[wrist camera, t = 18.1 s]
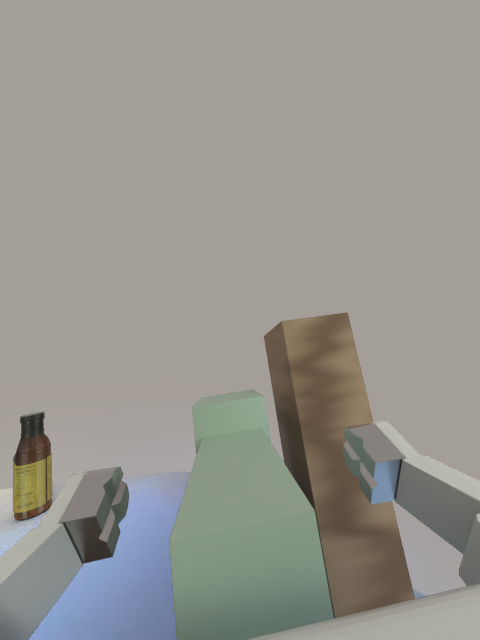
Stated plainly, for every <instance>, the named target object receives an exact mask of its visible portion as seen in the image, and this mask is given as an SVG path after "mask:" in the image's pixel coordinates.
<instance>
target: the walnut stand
mask: <svg viewBox="0 0 480 640" xmlns="http://www.w3.org/2000/svg"><path fill="white" fill-rule="evenodd" d="M264 340H265V346H266V352H267V358H268V364H269V371H270V376H271V383H272V389H273V395H274V401H275V407H276V413H277V420H278V426H279V432H280V438H281V444H282V450H283V456H284V463H285V465H286V467H287V468H288V470H289V472H290V473H291V475H292V476H293V478H294V479H295V481H296V482H297V484H298V485H299V487H300V489H301V490H302V492H303V493H304V495H305V496H306V498H307V499H308V501H309V503H310V504H311V506H312V507H313V509H314V510H315V515H316V521H317V526H318V532H319V538H320V543H321V549H322V554H323V560H324V566H325V571H326V577H327V582H328V588H329V593H330V599H331V605H332V610H333V616H334V618H338V617H343V616H347V615H351V614H355V613H359V612H363V611H367V610H372V609H376V608H380V607H384V606H388V605H392V604H396V603H401V602H405V601H409V600H413V599H415V597H414V593H413V589H412V584H411V580H410V576H409V572H408V568H407V563H406V559H405V555H404V550H403V546H402V542H401V538H400V533H399V529H398V525H397V521H396V516H395V512H394V508H393V504H392V501H389V502H383V503H377V504H370V502H369V501H368V499H367V497H366V496H365V494H364V493H363V491H362V489H361V488H360V486H359V478H358V477H357V476H355V475H354V474H352V473H351V471H350V470H349V468H348V466H347V464H346V462H345V459H344V454H343V445H344V443H345V442H346V441H347V440H346V438H345V437H344V430H345V428H346V427H350V426H356V425H361V424H367V423H372V422H373V419H372V414H371V410H370V406H369V401H368V397H367V393H366V389H365V385H364V380H363V376H362V372H361V367H360V363H359V359H358V355H357V350H356V346H355V342H354V338H353V333H352V329H351V325H350V321H349V316H348V313H341V314H334V315H325V316H318V317H310V318H302V319H294V320H287V321H281V322H280V323H279V324H278V325H277V326H275V327H274V328H273V329H272V330H271V331H270V332H269V333H267V334H266V335H265V336H264Z"/></svg>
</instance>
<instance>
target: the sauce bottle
mask: <svg viewBox="0 0 480 640" xmlns="http://www.w3.org/2000/svg"><path fill="white" fill-rule="evenodd" d="M44 417H45V416H44V412H37V413H32V414H27V415H23V416H21V417H20V423H21V431H22V432H21V439H20V442H19V445H18V448H17V451H16V454H15V456H14V458H13V512H14V517H15V519H17V520H23V519H28V518H32V517H34V516H36V515H38V514H40V513H42V512H44V511H46V510H47V509H48V508H49V507H50V506H51V503H52V499H51V497H52V461H51V448H50V447H51V444H50V441H49V439H48V437H47V436H46V435H45V434H44V427H43V425H44V424H43V419H44Z"/></svg>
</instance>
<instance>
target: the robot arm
mask: <svg viewBox="0 0 480 640" xmlns="http://www.w3.org/2000/svg"><path fill="white" fill-rule="evenodd" d="M344 437H345V438H346V440H347V441H346V442H345V443H344V445H343V454H344V459H345V462H346V464H347V466H348V468H349V470H350V471H351V473H352V474H354V475H355V476H357V477H358V478H359V486H360V488H361V489H362V491H363V493H364V494H365V496H366V497H367V499H368V501H369V502H370V504H377V503H383V502H389V501H394V500H396V501H395V502H396V503H398V504H399V505H400V506H401V507H403V508H404V509H405V510H407V511H408V512H409V513H410V514H412V515H413V516H414V517H416V518H417V519H418V520H420V521H421V522H422V523H423V524H425V525H426V526H427V527H429V528H430V529H431V530H433V531H434V532H435V533H437V534H438V535H439V536H440V537H442V538H443V539H444V540H445V541H447V542H448V543H449V544H451V545H452V546H453V547H455V548H456V549H457V550H458V551H460V552H461V553H463V554H464V555H463V558H462V561H461V565H460V568H459V576H460V577H461V578H462V580H463V581H464V582H465V584H466V585H467V587H463V588H459V589H455V590H450V591H446V592H442V593H438V594H434V595H430V596H425V597H421V598H417V599H413V600H409V601H405V602H401V603H396V604H392V605H388V606H384V607H380V608H376V609H372V610H367V611H363V612H359V613H355V614H351V615H347V616H343V617H338V618H334V619H330V620H326V621H322V622H318V623H314V624H309V625H305V626H301V627H297V628H293V629H289V630H285V631H280V632H276V633H272V634H268V635H264V636H260V637H256V638H251V639H247V640H480V481H478V480H476V479H474V478H472V477H470V476H468V475H466V474H464V473H462V472H460V471H457V470H455V469H453V468H451V467H449V466H447V465H445V464H443V463H441V462H439V461H437V460H435V459H433V458H430V457H428V456H426V455H423V456H421V455H420V454H419V453H418V452H417V451H416V450H415V449H414V448H413V447H412V446H411V445H410V444H409V443H408V442H407V441H406V440H405V439H404V438H403V437H402V436H401V435H400V434H399V433H398V432H397V431H396V430H395V429H394V428H393V427H392V426H391V425H390V424H389V423H388V422H386V421H384V420H383V421H378V422H372V423H367V424H361V425H356V426H350V427H346V428H345V430H344ZM122 477H123V472H122V470H121V467H115V468H107V469H101V470H93V471H88V472H82V473H75V474H72V475H71V476H70V477H68V479H67V480H66V482H65V484H64V485H63V487H62V489H61V490H60V492H59V494H58V495H57V497H56V499H55V500H54V502H53V504H52V505H51V507H50V509H49V510H48V512H47V514H46V515H45V517H44V519H43V520H42V522H41V524H40V525H39V527H38V528H34V529H32V530H31V531H30V532H29V533H27V534H26V535H25V536H24V537H23V538H22V539H21V540H20V541H18V542H17V543H16V544H15V545H14V546H13V547H12V548H11V549H9V550H8V551H7V552H6V553H5V554H4V555H3V556H1V557H0V640H28V639H29V638H30V637H31V635H32V634H33V633H34V631H35V630H36V629H37V627H38V626H39V625H40V623H41V622H42V621H43V619H44V618H45V617H46V615H47V614H48V612H49V611H50V610H51V608H52V607H53V606H54V604H55V603H56V602H57V600H58V599H59V598H60V596H61V595H62V594H63V592H64V591H65V590H66V588H67V587H68V586H69V584H70V583H71V582H72V580H73V579H74V577H75V576H76V575H77V573H78V572H79V571H80V569H81V568H82V567H83V564H84V563H88V562H93V561H97V560H101V559H105V558H110V557H113V554H114V551H115V547H116V544H117V541H118V538H119V534H120V529H119V527H118V524H119V523H120V522H121V520H122V519H123V518H124V517H125V515H126V511H127V508H128V500H129V492H128V487H127V484H126V483H124V482H123V481H121V480H122Z"/></svg>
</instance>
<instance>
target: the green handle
mask: <svg viewBox="0 0 480 640" xmlns="http://www.w3.org/2000/svg"><path fill="white" fill-rule="evenodd" d="M192 414H193V424H194V434H195V444H196V454H197V456H196V459H195V462H194V465H193V468H192V472H191V475H190V478H189V481H188V484H187V487H186V490H185V493H184V496H183V499H182V502H181V506H180V509H179V512H178V515H177V518H176V521H175V524H174V527H173V530H172V533H171V536H170V540H169V544H170V558H171V571H172V585H173V598H174V611H175V625H176V638H177V640H247V639H251V638H256V637H260V636H264V635H268V634H272V633H276V632H280V631H285V630H289V629H293V628H297V627H301V626H305V625H309V624H314V623H318V622H322V621H326V620H330V619H334V616H333V610H332V605H331V599H330V593H329V588H328V582H327V577H326V571H325V566H324V560H323V554H322V549H321V543H320V538H319V532H318V526H317V521H316V515H315V510H314V509H313V507H312V506H311V504H310V503H309V501H308V499H307V498H306V496H305V495H304V493H303V492H302V490H301V489H300V487H299V485H298V484H297V482H296V481H295V479H294V478H293V476H292V475H291V473H290V472H289V470H288V468H287V467H286V465H285V464H284V462H283V461H282V459H281V458H280V456H279V454H278V453H277V451H276V450H275V448H274V447H273V445H272V444H271V440H270V434H269V428H268V422H267V415H266V408H265V402H264V396H263V395H261V394H260V393H258V392H256V391H255V390H247V391H242V392H234V393H228V394H222V395H216V396H209V397H202V398H200V399H199V400H198V401H197V402H196V404H194V406H193V407H192Z"/></svg>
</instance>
